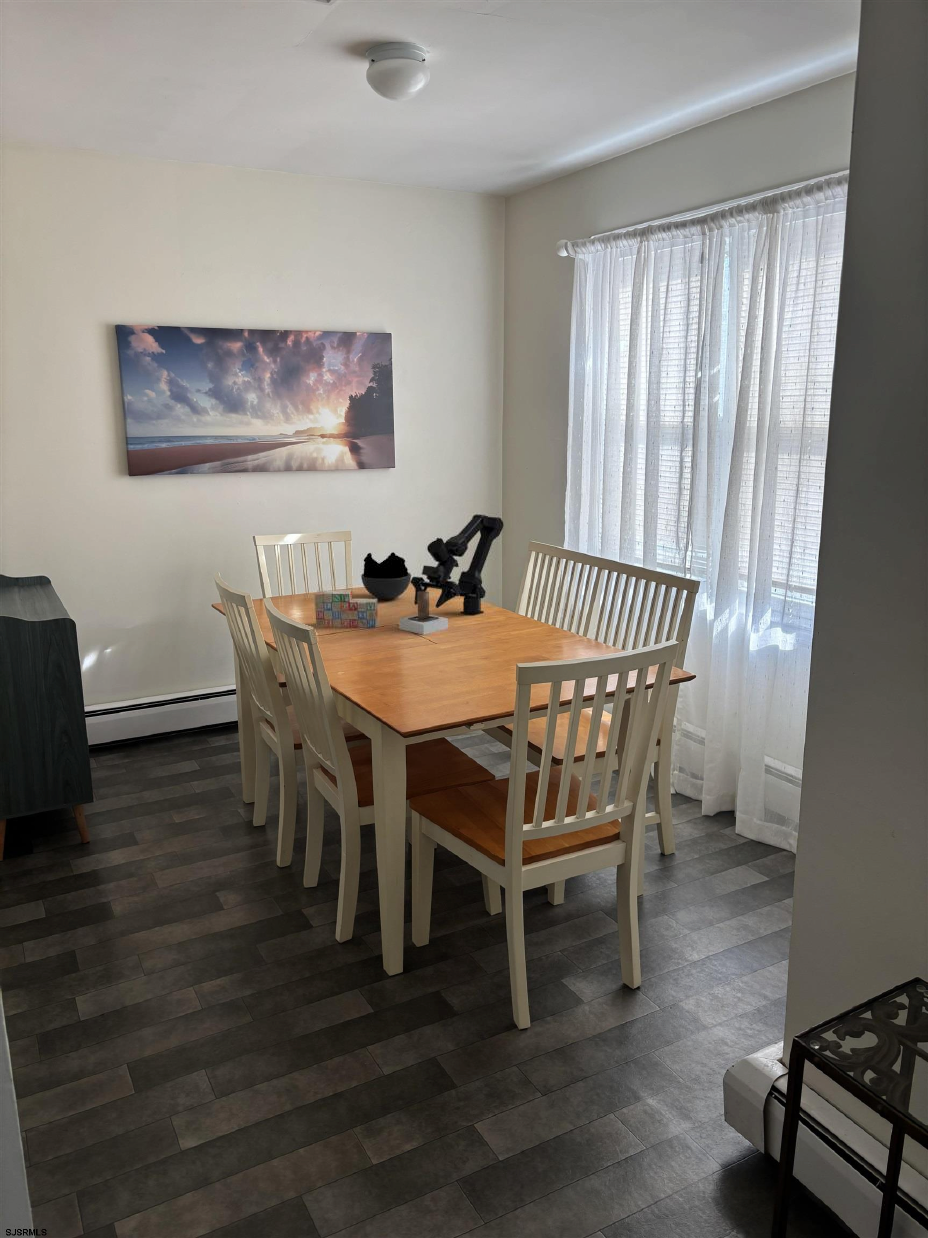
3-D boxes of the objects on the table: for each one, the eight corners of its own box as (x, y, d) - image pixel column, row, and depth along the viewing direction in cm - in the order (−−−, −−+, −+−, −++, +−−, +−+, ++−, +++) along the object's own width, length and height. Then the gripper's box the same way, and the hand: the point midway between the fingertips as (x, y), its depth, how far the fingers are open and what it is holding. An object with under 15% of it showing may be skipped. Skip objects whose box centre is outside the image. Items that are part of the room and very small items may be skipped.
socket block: (423, 623, 323) (423, 612, 322) (447, 628, 315) (447, 617, 315) (399, 629, 315) (399, 617, 314) (423, 634, 307) (423, 623, 306)
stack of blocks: (378, 624, 323) (377, 590, 320) (375, 628, 317) (374, 593, 314) (319, 623, 324) (318, 589, 322) (315, 627, 318) (314, 593, 315)
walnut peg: (426, 626, 318) (426, 590, 315) (431, 629, 314) (430, 592, 311) (416, 628, 316) (415, 591, 313) (420, 630, 313) (419, 593, 310)
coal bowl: (421, 597, 368) (420, 551, 363) (391, 606, 351) (390, 558, 347) (381, 592, 378) (380, 547, 374) (351, 600, 362) (350, 554, 357)
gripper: (412, 554, 320) (394, 589, 314) (455, 558, 310) (437, 595, 303) (426, 572, 328) (408, 607, 322) (468, 577, 318) (451, 614, 312)
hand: (425, 605), depth 314 cm, fingers open, 9 cm apart
